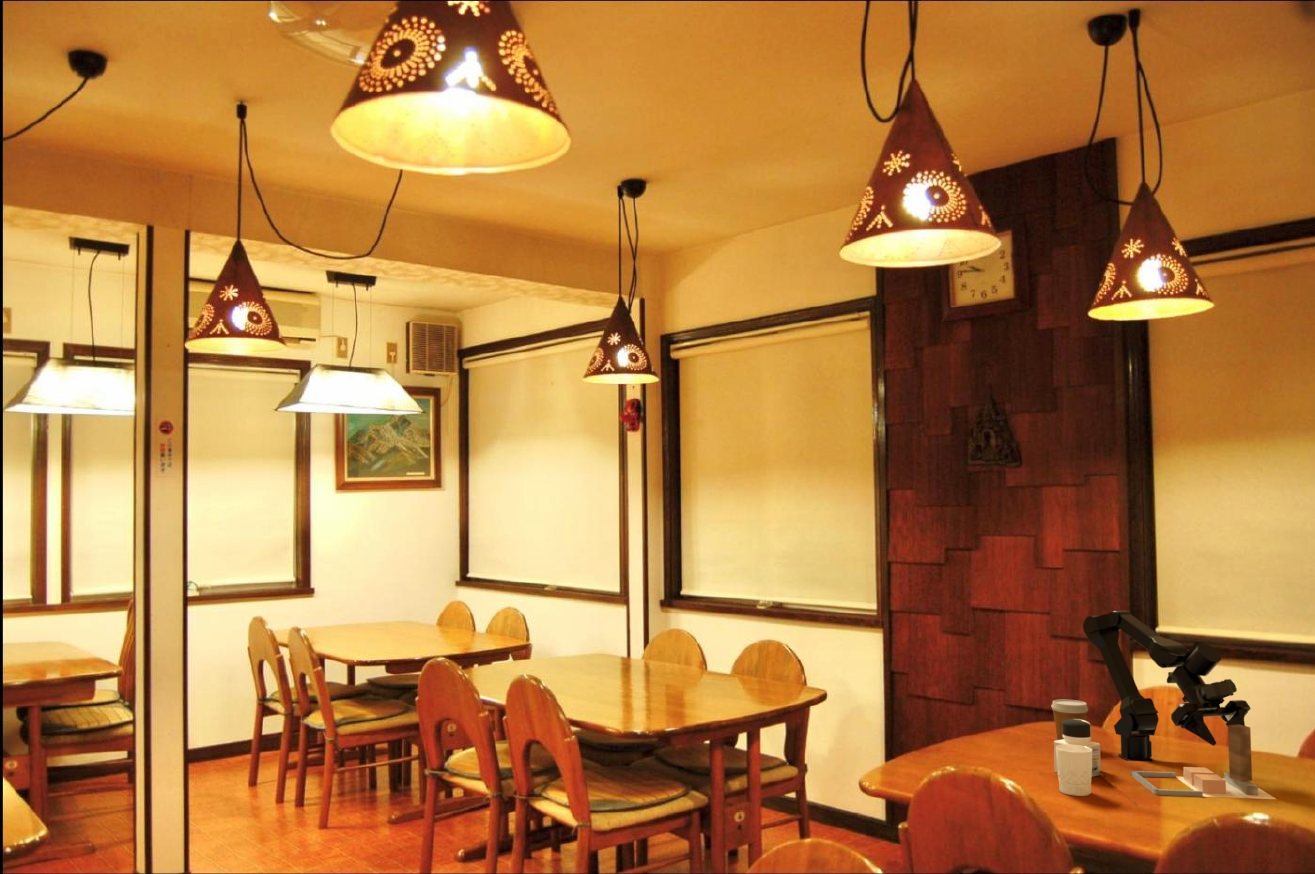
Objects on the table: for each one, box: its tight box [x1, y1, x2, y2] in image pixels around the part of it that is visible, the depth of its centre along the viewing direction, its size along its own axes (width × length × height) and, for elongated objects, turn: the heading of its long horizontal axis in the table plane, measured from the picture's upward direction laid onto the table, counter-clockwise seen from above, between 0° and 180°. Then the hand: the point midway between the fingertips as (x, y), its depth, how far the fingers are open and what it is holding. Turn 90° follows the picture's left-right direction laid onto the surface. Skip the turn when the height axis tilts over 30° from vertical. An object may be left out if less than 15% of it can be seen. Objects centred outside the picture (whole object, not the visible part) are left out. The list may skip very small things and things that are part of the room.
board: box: [1176, 776, 1277, 800], centre depth 240 cm, size 16×17×1 cm
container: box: [1053, 719, 1102, 777], centre depth 257 cm, size 8×8×13 cm
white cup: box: [1056, 744, 1092, 797], centre depth 240 cm, size 8×8×10 cm
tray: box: [1130, 770, 1204, 798], centre depth 241 cm, size 10×17×2 cm, turn 173°
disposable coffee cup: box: [1050, 699, 1089, 740], centre depth 285 cm, size 10×10×12 cm
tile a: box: [1194, 774, 1226, 794], centre depth 237 cm, size 5×5×3 cm
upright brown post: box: [1223, 725, 1259, 795], centre depth 240 cm, size 4×12×14 cm, turn 173°
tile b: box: [1182, 766, 1215, 786], centre depth 244 cm, size 5×5×3 cm
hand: (1231, 743), depth 242 cm, fingers open, 9 cm apart
